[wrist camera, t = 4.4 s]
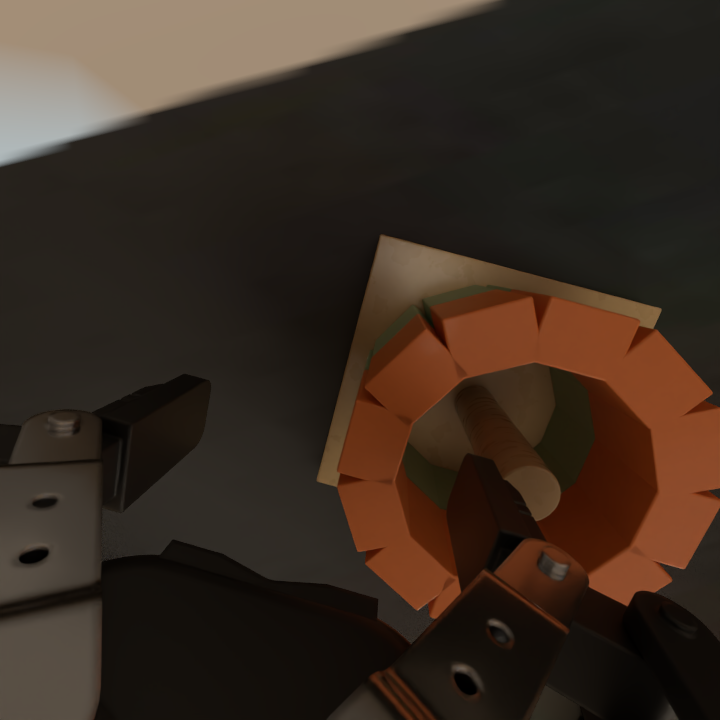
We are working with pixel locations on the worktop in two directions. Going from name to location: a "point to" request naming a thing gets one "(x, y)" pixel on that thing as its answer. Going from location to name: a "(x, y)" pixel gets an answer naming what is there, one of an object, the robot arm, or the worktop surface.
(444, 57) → the worktop surface
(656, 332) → the orange ring
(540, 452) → the green ring
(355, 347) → the ring stand
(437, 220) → the worktop surface
